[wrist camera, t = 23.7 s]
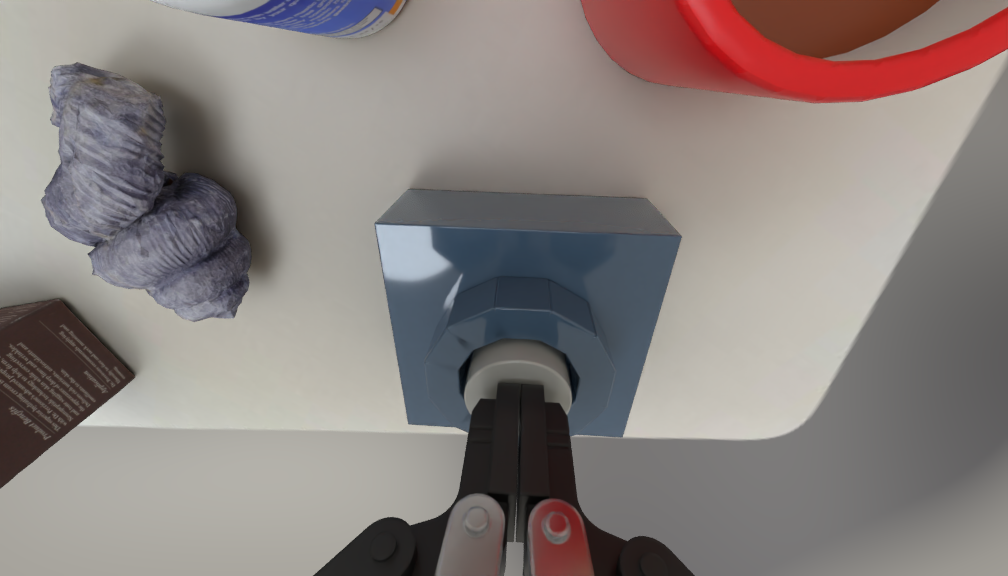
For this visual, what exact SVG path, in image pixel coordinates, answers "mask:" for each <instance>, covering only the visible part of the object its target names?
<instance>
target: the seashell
mask: <svg viewBox="0 0 1008 576" xmlns="http://www.w3.org/2000/svg"><path fill="white" fill-rule="evenodd" d="M51 73H52V74H51V77H52V78H51V79H50V83H51V86H49V87H48V88H49V93H50V98H51V102H52V105H53V110H54V111H53V113H52V116H51V119H50V120H51V123H52V125H55V126H57V127H59V128H60V129H59V150H58V152H59V155H60V160H61V164H60V165H59V167H58V169H57V170H56V172H55V174H54V176H53V178H52V181H51V182H50V183H49V185H48V186H47V187H46V189H45V190H44V191H45V194H46V195H45V196H44V197H43V198H42V199H41V202H42V204H43V206H44V208H45V212H46V217H47V218H48V221H49V223H50V225H51V227H52V228H54V229H55V230H57V231H58V232H60V233H61V234H63V235H64V236H65V237H67V238H68V239H70V240H73V241H76V242H79V243H82V244H85V245H88V246H94V247H95V248H94V249H93V250H92V251H91V252H90V253H88V255H89V257H90V258H91V261H92V266H93V273H92V275H98V276H99V277H101V278H102V279H104V280H105V281H106V282H108V283H111V284H113V285H115V286H119V287H124V288H128V289H131V288H135V289H146V290H147V292H148V294H149V295H150V296H152V297H153V298H154V299H155V301H156V302H157V303H158V304H160V305H162V306H163V307H165V308H169V309H174V310H175V313H176V314H177V315H178V316H180V317H181V318H183V319H186V320H190V321H193V322H195V321H200V320H203V319H206V318H209V317H216V318H234V317H235V315H236V312H237V308H238V306H239V305H240V304H241V303H242V297H243V296H244V295H245V293H246V292H247V291H248V287H249V277H248V274H247V271H248V269H249V267H250V264H251V258H252V256H251V248H250V244H249V241H248V240H247V239H246V238H245V237H244V236H243V235H242V234H241V233H240V232H239V231H238V230H236V227H235V225H236V222H237V206H236V204H235V203H236V202H235V201H234V199H233V197H232V195H231V194H230V192H229V191H227V190H226V189H225V188H223V187H221V186H220V185H219V184H218V183H216V182H215V181H214V180H211V179H208V178H205V177H203V176H201V175H199V174H197V173H184V174H183V175H182V176H180V177H178V176H177V175H176V174H174V173H171V172H166V171H163V169H164V167H165V166H164V165H163V164H162V163H161V160H162V159H163V158H164V156H163V154H162V153H161V149H160V146H161V145H162V144H161V143H160V142H159V140H160V139H161V138H162V137H163V134H162V133H161V132H162V131H163V130H164V129H165V127H164V125H165V123H166V120H165V118H164V116H163V110H162V107H163V105H162V101H161V99H160V96H156V95H155V93H149V92H148V91H146V90H145V89H144V88H142V87H141V86H140V85H139V84H137V83H135V82H133V81H131V80H129V79H127V78H125V77H123V76H121V75H119V74H116V73H112V72H108V71H104V70H100V69H96V68H93V67H90V66H87V65H84V64H81V63H75V64H72V65H60V66H54V68H53V69H52V71H51Z"/></svg>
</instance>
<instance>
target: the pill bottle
mask: <svg viewBox="0 0 1008 576" xmlns="http://www.w3.org/2000/svg"><path fill="white" fill-rule="evenodd" d="M150 1H153V2H156V3H159V4H162V5H165V6H168V7H171V8H175V9H179V10H184V11H188V12H192V13H197V14H202V15H207V16H212V17H218V18H224V19H229V20H235V21H241V22H247V23H253V24H258V25H263V26H269V27H275V28H281V29H286V30H292V31H298V32H303V33H309V34H315V35H321V36H327V37H334V38H360V37H365V36H368V35H371V34H373V33H375V32H377V31H379V30H381V29H382V28H384V27H385V26H386V25H388V24H389V23H390V22H391V21H392V20H393V19H394V18H395V17H396V16H397V14H398V13H399V12H400V10H401V9H402V7H403V6H404V4H405V2H406V0H150Z"/></svg>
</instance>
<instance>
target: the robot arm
mask: <svg viewBox="0 0 1008 576" xmlns="http://www.w3.org/2000/svg"><path fill="white" fill-rule="evenodd" d="M519 392H520V384H516V383H499V382H498V385H497V395H496V399H484V398H480V400H479V401H478V403H477V404H476V406H475V407H474V409H473V410H472V414H471V420H470V428H469V433H468V440H467V445H466V451H465V458H464V464H463V470H462V476H461V482H460V489H459V492H458V495H457V498H456V500H455V501H454V503H453V504H452V506H451V507H450V508H449V509H448V510H447V511H446V512H444V513H443V514H442V515H440V516H438V517H436V518H434V519H431V520H428V521H425V522H421V523H418V524H414V525H411V526H410V525H409V524H408V523H407V522H406V521H404V520H402V519H400V518H394V517H387V518H383V519H381V520H378V521H376V522H374V523H373V524H371V525H370V526H369V527H367V528H366V529H365V530H364V531H363V532H362V533H361V534H359V535H358V536H357V537H356V538H355V539H354V540H353V541H352V542H350V543H349V544H348V545H347V546H346V547H345V548H344V549H343V550H342V551H340V552H339V553H338V554H337V555H336V556H335V557H334V558H333V559H331V560H330V561H329V562H328V563H327V564H326V565H325V566H324V567H322V568H321V569H320V570H319V571H318V572H317V573H316V574H315V575H313V576H504V573H505V567H506V547H507V542H513V541H514V528H515V527H514V526H515V515H516V501H517V520H516V542H522V543H524V558H523V559H524V560H523V561H524V563H523V576H694V575H693V573H692V572H691V571H690V570H688V568H687V567H686V566H685V565H684V564H683V563H682V562H681V561H680V560H679V559H678V558H677V557H676V556H675V555H674V554H673V552H672V551H671V550H670V549H668V548H667V547H666V546H665V545H664V544H662V543H661V542H659V541H657V540H655V539H653V538H650V537H646V536H638V537H634V538H632V539H630V540H629V541H625V540H623V539H621V538H619V537H616V536H614V535H612V534H609V533H607V532H605V531H603V530H601V529H599V528H597V527H596V526H595V525H594V524H592V523H591V522H590V521H589V520H588V519H587V517H586V516H585V515H584V513H583V512H582V510H581V508H580V506H579V503H578V500H577V492H576V484H575V475H574V466H573V457H572V450H571V441H570V434H569V433H570V431H569V423H568V416H567V414H566V413H565V411H564V409H563V408H562V406H561V404H560V403H554V402H545V397H544V385H536V384H521V398H520V413H519ZM518 433H519V436H518ZM517 474H518V478H517Z"/></svg>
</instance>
